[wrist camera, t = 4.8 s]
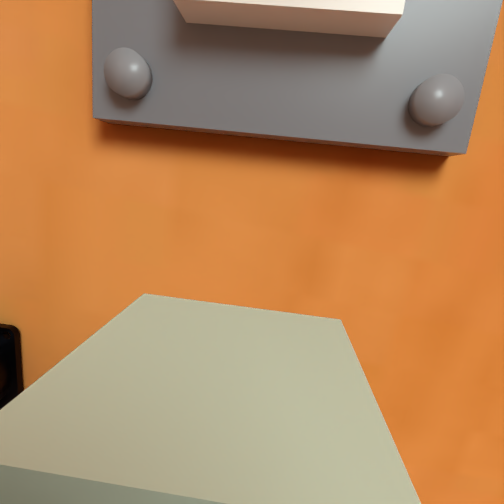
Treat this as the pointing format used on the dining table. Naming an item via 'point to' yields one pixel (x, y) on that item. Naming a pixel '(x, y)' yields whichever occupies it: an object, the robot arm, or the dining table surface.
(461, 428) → the dining table surface
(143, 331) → the sage brick
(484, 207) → the dining table surface
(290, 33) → the tower base
